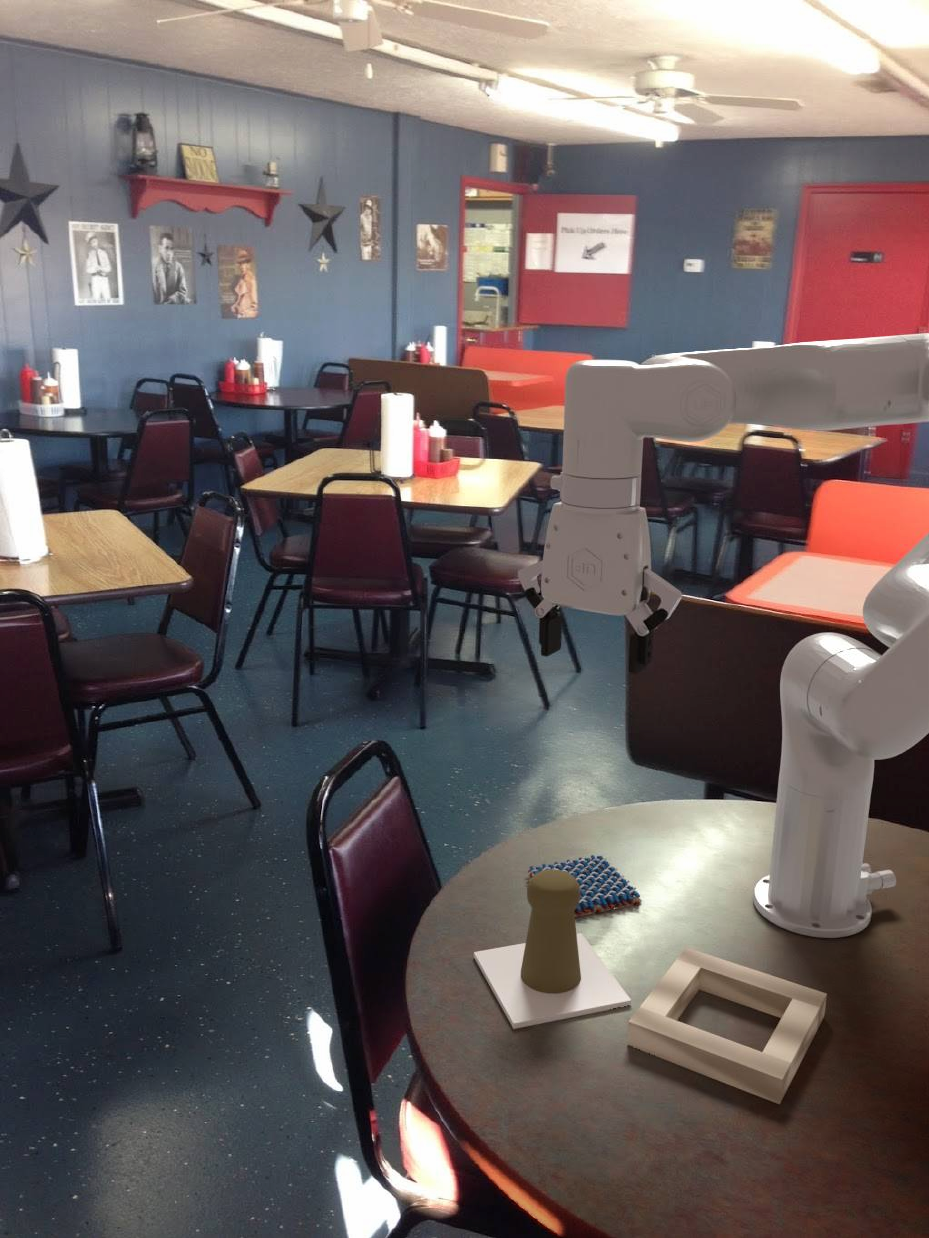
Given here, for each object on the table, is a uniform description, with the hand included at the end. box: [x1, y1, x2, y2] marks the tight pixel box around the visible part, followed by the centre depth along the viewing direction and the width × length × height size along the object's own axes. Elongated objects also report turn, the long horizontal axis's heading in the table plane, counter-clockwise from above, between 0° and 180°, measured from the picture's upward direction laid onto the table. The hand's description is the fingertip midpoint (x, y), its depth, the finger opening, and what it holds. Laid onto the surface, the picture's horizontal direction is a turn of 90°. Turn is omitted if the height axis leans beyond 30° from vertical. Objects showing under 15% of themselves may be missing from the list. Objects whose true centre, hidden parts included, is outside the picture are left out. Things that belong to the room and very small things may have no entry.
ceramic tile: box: [473, 932, 632, 1030], centre depth 108 cm, size 12×12×1 cm
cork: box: [521, 869, 581, 994], centre depth 106 cm, size 6×6×11 cm
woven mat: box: [525, 854, 643, 918], centre depth 124 cm, size 10×11×2 cm
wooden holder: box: [626, 947, 828, 1105], centre depth 100 cm, size 14×14×2 cm
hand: (593, 661), depth 109 cm, fingers open, 9 cm apart
